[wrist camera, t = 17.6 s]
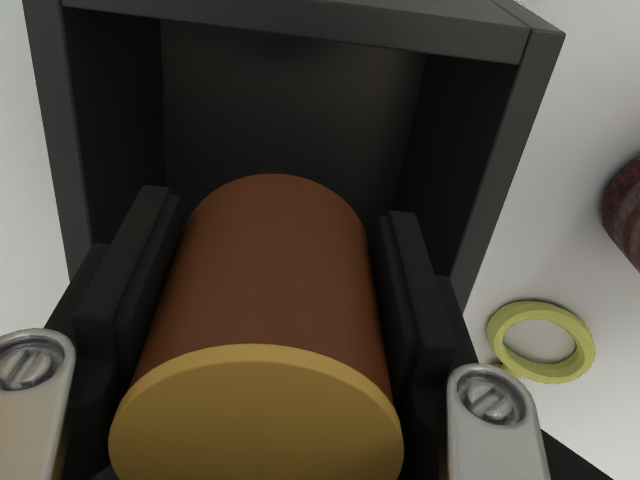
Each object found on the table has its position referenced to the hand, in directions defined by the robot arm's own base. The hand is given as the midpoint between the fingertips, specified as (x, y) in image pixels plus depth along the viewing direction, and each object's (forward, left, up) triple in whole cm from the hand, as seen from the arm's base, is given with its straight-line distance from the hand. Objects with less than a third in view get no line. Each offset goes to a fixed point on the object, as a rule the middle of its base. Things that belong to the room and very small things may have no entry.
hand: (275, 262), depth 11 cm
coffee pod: (0, 0, 0) cm, 0 cm away
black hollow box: (+3, 0, -15) cm, 15 cm away
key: (+17, +15, -15) cm, 27 cm away
